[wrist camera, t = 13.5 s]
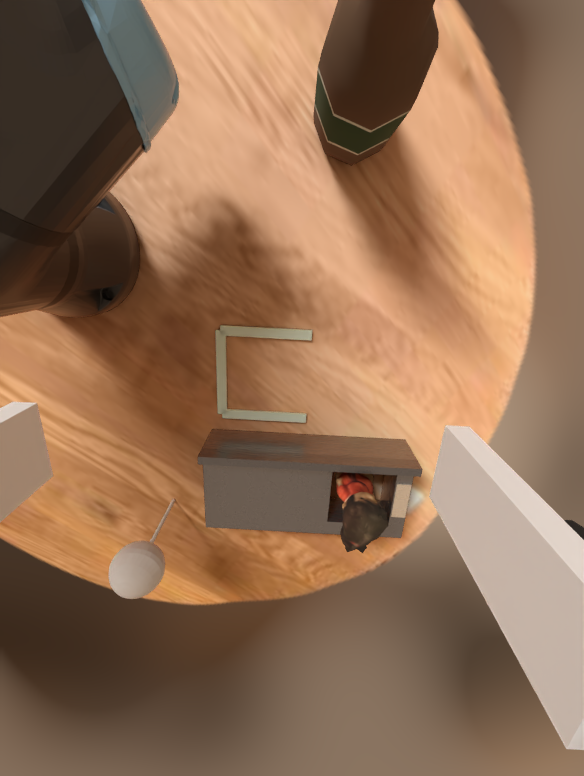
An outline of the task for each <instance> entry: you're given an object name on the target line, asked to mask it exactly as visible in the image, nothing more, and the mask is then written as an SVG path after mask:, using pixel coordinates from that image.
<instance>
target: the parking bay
mask: <svg viewBox="0 0 584 776" xmlns="http://www.w3.org/2000/svg"><path fill="white" fill-rule="evenodd" d="M215 335H216V372H217V409H218V414H222V418H227V419H245V420H263V421H282V422H300V423H306V413H293V412H274V411H256V410H238V409H227V360H226V336H237V337H256V338H274V339H293V340H311V341H312V330H303V329H285V328H266V327H248V326H229V325H220V330H215Z"/></svg>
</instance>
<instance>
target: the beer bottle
mask: <svg viewBox="0 0 584 776" xmlns="http://www.w3.org/2000/svg"><path fill="white" fill-rule="evenodd" d="M434 2H435V0H338V3H337V6H336V9H335V12H334V15H333V18H332V21H331V24H330V28H329V31H328V34H327V37H326V40H325V43H324V46H323V49H322V53H321V57H320V61H319V65H318V74H317V84H316V95H315V106H314V124H315V127H316V129H317V132H318V135H319V138H320V141H321V143H322V146H323V149H324V152H325V154H327V155H329V156H331V157H334V158H336V159H338V160H340V161H343V162H345V163H347V164H349V165H353V164H355V163H357V162H359V161H361V160H363V159H365V158H367V157H369V156H371V155H373V154H375V153H377V152H379V151H380V150H381V149H382V148H383V146H384V145H385V144H386V142H387V141H388V140H389V138H390V137H391V136H392V134H393V133H394V132H395V130H396V129H397V128H398V126H399V125H400V123H401V122H402V121H403V119H404V118H405V117H406V115H407V114H408V113H409V111H410V110H411V108H412V106H413V104H414V102H415V100H416V99H417V96H418V94H419V92H420V89H421V87H422V84H423V82H424V79H425V77H426V75H427V72H428V70H429V67H430V65H431V62H432V60H433V58H434V55H435V53H436V50H437V48H438V28H437V23H436V19H435V15H434V11H433V4H434Z"/></svg>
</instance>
